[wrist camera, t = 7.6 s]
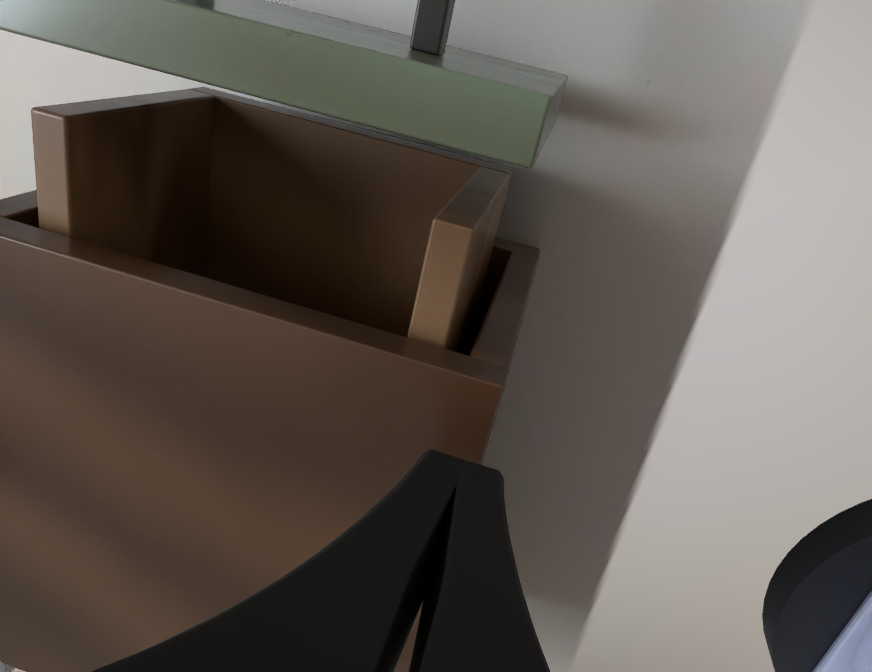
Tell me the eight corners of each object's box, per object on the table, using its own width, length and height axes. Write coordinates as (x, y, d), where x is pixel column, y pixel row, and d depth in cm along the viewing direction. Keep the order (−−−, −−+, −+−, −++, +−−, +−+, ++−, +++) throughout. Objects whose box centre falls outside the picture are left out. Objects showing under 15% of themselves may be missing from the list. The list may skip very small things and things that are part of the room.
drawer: (197, -230, 15) (-61, -405, 9) (629, -140, 14) (654, -273, 8) (176, 375, 23) (26, 494, 17) (457, 464, 22) (405, 626, 16)
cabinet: (182, 150, 20) (-65, 215, 13) (540, 249, 19) (504, 386, 12) (171, 483, 26) (-1, 662, 19) (442, 574, 25) (376, 806, 18)
